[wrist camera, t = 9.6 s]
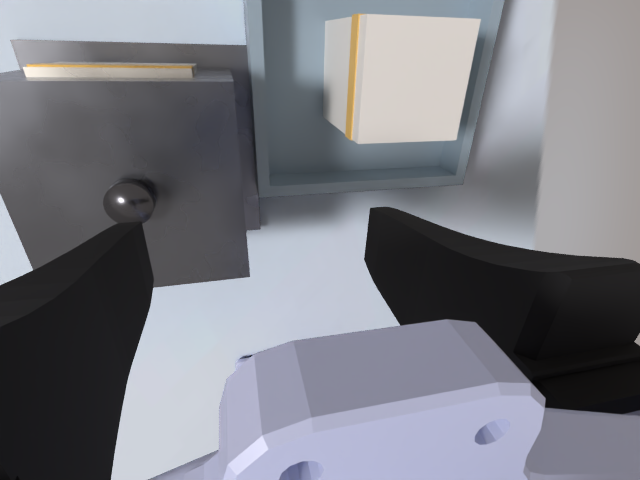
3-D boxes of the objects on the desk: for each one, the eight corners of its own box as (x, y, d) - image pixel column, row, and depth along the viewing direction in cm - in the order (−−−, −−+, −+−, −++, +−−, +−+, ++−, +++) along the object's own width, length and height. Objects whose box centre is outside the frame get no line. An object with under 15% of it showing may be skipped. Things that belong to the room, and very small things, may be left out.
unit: (259, 225, 23) (274, 300, 16) (83, 240, 21) (19, 332, 14) (248, 45, 18) (263, 49, 11) (15, 39, 16) (-128, 40, 9)
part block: (399, 116, 21) (456, 141, 16) (321, 117, 20) (356, 145, 15) (411, 23, 19) (482, 17, 13) (324, 19, 18) (366, 12, 12)
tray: (441, 171, 24) (462, 184, 22) (255, 181, 21) (258, 197, 19) (486, -65, 18) (522, -79, 16) (237, -91, 15) (240, -112, 13)
